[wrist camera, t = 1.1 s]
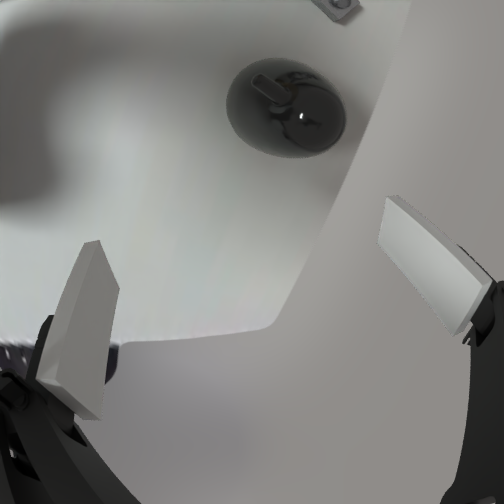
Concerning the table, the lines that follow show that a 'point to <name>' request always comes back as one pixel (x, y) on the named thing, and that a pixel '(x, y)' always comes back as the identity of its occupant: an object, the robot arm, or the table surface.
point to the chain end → (336, 7)
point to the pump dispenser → (286, 109)
